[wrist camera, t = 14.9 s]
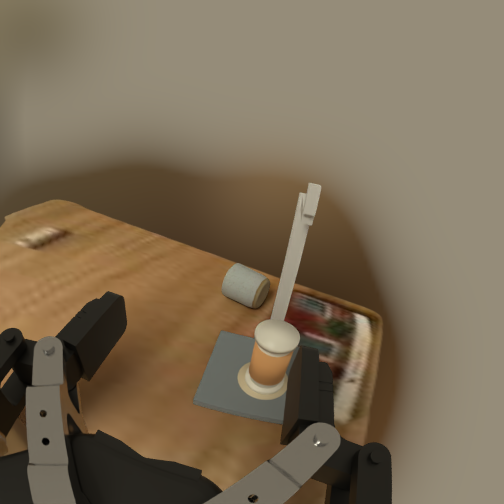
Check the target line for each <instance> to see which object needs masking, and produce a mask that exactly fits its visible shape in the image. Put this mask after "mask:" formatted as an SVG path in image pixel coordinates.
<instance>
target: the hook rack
mask: <svg viewBox="0 0 504 504" xmlns="http://www.w3.org/2000/svg"><path fill="white" fill-rule="evenodd" d="M320 191H321V185H317V184H313V183H309V185H308V190H307V194H304V193H300V194H299V199H298V203H297V208H296V213H295V217H294V222H293V226H292V231H291V235H290V240H289V244H288V249H287V253H286V257H285V262H284V266H283V270H282V274H281V278H280V282H279V287H278V291H277V295H276V299H275V303H274V307H273V311H272V315H271V319H276V320H282V321H284V318H285V315H286V311H287V308H288V304H289V300H290V297H291V293H292V290H293V286H294V282H295V279H296V274H297V271H298V267H299V263H300V260H301V255H302V252H303V248H304V243H305V240H306V236H307V231H308V228H309V225H312V222H313V218H314V216H315V212H316V208H317V204H318V200H319V196H320ZM254 344H255V338H251V337H246V336H242V335H238V334H234V333H229V332H225V331H221V332H220V335H219V337H218V340H217V342H216V345H215V347H214V350H213V352H212V355H211V357H210V360H209V362H208V364H207V367H206V369H205V372H204V374H203V377H202V379H201V382H200V384H199V387H198V389H197V392H196V394H195V397H194V399H193V404H195V405H199V406H202V407H206V408H209V409H213V410H217V411H221V412H225V413H229V414H233V415H237V416H241V417H246V418H251V419H255V420H261V421H266V422H271V423H277V424H283V418H284V409H285V400H286V391H287V381H288V375H289V372H290V369H291V366H292V364H293V362H294V359H295V357H296V355H297V352H298V350H299V347H297V348H296V349H295V350H294V351H293V354H292V357H291V359H290V362H289V365H288V367H287V370H286V373H285V375H284V383H283V386H282V388H281V389H280V390H279V391H278V392H276V393H274V394H270V395H263V394H258V393H256V392H254V391H252V390H251V389H250V388H249V387H248V386H247V384H246V382H245V374H246V371H247V369H248V368H249V366H250V362H251V357H252V353H253V349H254Z"/></svg>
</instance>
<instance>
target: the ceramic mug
mask: <svg viewBox="0 0 504 504" xmlns="http://www.w3.org/2000/svg"><path fill="white" fill-rule="evenodd" d="M269 288H270V281H269V279H268V278H266V277H265V276H263V275H262V274H260V273H257V272H255V271H253V270H251V269H250V268H248V267H246V266H244V265H242V264H240V263H236V264H234V265H233V266H232V267H231V268H230V269H229V270H228V272H227V274H226V276H225V278H224V281H223V284H222V294H223V295H224V296H226V297H228V298H230V299H233V300H235V301H237V302H239V303H241V304H243V305H245V306H247V307H250V308H258V307H259V306H260V305H261V304H262V303H263V302H264V300H265V298H266V296H267V294H268V291H269Z"/></svg>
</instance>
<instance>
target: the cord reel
mask: <svg viewBox="0 0 504 504" xmlns="http://www.w3.org/2000/svg"><path fill="white" fill-rule="evenodd" d="M254 338H255V344H254V349H253V353H252V357H251V362H250V366H249V368H248V369H247V371H246V374H245V382H246V384H247V386H248V387H249V388H250V389H251V390H252V391H254V392H256V393H258V394H263V395H270V394H274V393H276V392H278V391H279V390H280V389H281V388H282V386H283V383H284V375H285V373H286V370H287V367H288V365H289V362H290V359H291V357H292V354H293V351H294V350H295V349H296V348H297V346H298V344H299V341H300V334H299V332H298V330H297V329H296V328H295V327H294V326H292V325H291V324H289V323H287V322H285V321H282V320H276V319H270V320H265V321H263V322H261V323H259V324H258V325H257V327H256V329H255V334H254Z"/></svg>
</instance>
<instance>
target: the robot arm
mask: <svg viewBox="0 0 504 504" xmlns="http://www.w3.org/2000/svg"><path fill="white" fill-rule="evenodd" d="M126 325H127V318H126V310H125V301H124V297H123V296H121V295H118V294H115V293H112V292H109V291H108V292H106V293H105V294H104V295H103V296H102V297H101V298H100V299H97V298H96V299H94V300H92V301H90V302H88V303H87V304H86V305H85V306H84V307H83V308H82V309H81V311H79V312H78V313H77V314H76V315H75V317H73V318H72V319H71V320H70V322H69V323H68V324H67V325H66V326H65V327H64V328H63V329H62V330H61V331H60V332H59V333H58V334H57V336H56V337H52V336H48V337H44V338H42V339H40V340H39V341H38V342H37V341H32V340H28V339H24V337H23V335H22V333H21V331H20V330H19V329H16V328H9V329H6V330H5V331H3V332H2V333H1V334H0V385H1V382H2V380H3V379H4V377H5V376H6V375H7V373H8V372H9V371H10V369H11V368H12V369H13V371H14V372H13V373H12V374H11V376H10V377H9V378H8V380H7V381H6V383H5V384H4V385H3V387H2V388H1V389H0V504H283V503H285V502H286V501H287V500H288V499H289V498H290V497H291V496H293V495H294V494H295V493H296V492H297V491H298V490H299V489H300V488H301V486H302V485H303V484H304V483H305V482H306V481H307V480H308V479H309V478H312V479H315V480H317V481H320V482H323V483H325V484H327V490H326V498H325V504H392V471H391V469H392V468H391V455H390V452H389V450H388V449H387V448H386V447H385V446H383V445H382V444H379V443H368V444H366V445H364V446H360V445H358V444H355V443H352V442H349V441H347V440H345V439H344V438H342V437H341V436H340V435H339V433H338V431H337V430H336V429H335V426H334V403H333V385H332V384H333V378H332V371H331V369H330V368H329V366H328V364H327V363H325V362H319V351H318V349H316V348H311V347H305V346H300V348H299V350H298V352H297V355H296V357H295V359H294V362H293V364H292V366H291V369H290V372H289V375H288V381H287V391H286V400H285V409H284V418H283V426H282V434H281V442H280V444H282V445H287V446H286V447H285V448H284V449H283V450H281V451H280V452H279V453H278V454H277V455H275V456H274V457H273V458H271V459H270V460H267V461H265V462H264V463H263V464H261V465H260V466H259V467H257V468H256V469H255V470H253V471H252V472H250V473H249V474H248V475H246V476H245V477H244V478H242V479H241V480H239V481H238V482H236V483H235V484H233V485H232V486H230V487H229V488H227V489H226V490H224V491H222V490H221V489H220V488H219V487H218V486H217V485H216V484H214V483H213V482H212V481H210V480H209V479H207V478H206V477H204V476H202V475H201V473H202V470H199V469H196V468H192V467H189V466H186V465H183V464H179V463H176V462H172V461H164V460H156V459H150V458H145V457H143V456H141V455H140V454H138V453H137V452H135V451H134V450H133V449H131V448H130V447H129V446H127V445H126V444H125V443H123V442H122V441H120V440H118V439H116V438H114V437H112V436H110V435H108V434H106V433H104V432H102V431H100V430H98V431H97V432H96V434H89V433H88V430H87V427H86V425H85V422H84V419H83V413H82V406H81V399H80V390H79V383H78V381H79V380H80V378H81V377H82V378H83V379H85V380H87V381H90V380H91V378H92V377H93V375H94V374H95V372H96V371H97V369H98V368H99V367H100V365H101V364H102V362H103V361H104V360H105V358H106V357H107V355H108V354H109V353H110V351H111V350H112V348H113V347H114V346H115V344H116V343H117V342H118V340H119V339H120V337H121V336H122V335H123V333H124V332H125V329H126ZM25 405H26V426H25V425H24V424H23V422H22V421H21V420H20V419H19V418H18V416H19V415H20V413H21V411H22V410H23V408H24V407H25Z"/></svg>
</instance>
